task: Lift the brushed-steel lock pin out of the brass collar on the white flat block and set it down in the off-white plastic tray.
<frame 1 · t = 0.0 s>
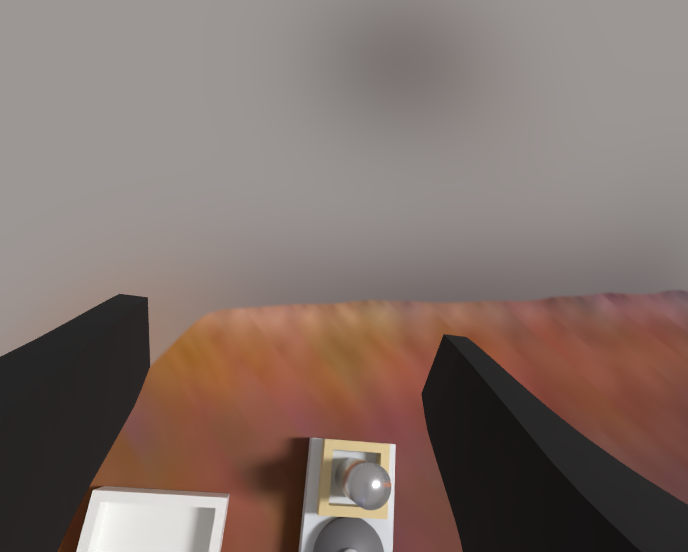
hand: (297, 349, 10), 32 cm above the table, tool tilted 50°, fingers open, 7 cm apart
lock pin: (352, 476, 37), point 2 cm above the table, touching white flat block
white flat block: (345, 516, 38), on the table
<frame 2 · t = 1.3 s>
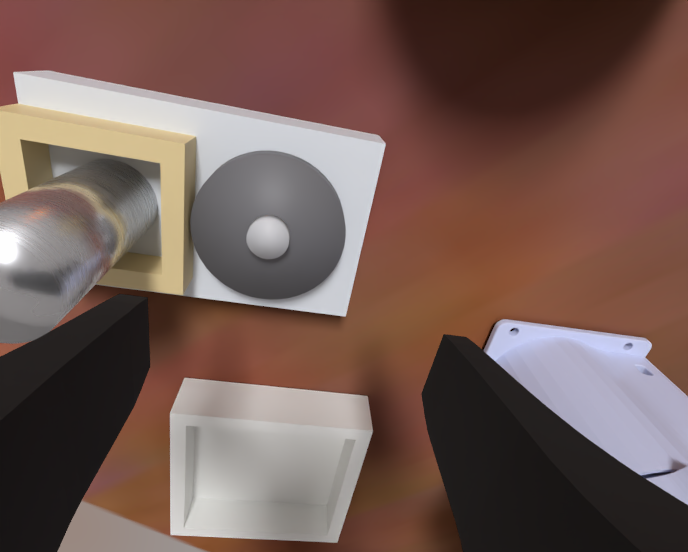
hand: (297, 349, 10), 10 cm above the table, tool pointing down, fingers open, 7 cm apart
tray: (269, 448, 26), on the table
lock pin: (115, 200, 16), point 2 cm above the table, touching white flat block
white flat block: (217, 199, 18), on the table
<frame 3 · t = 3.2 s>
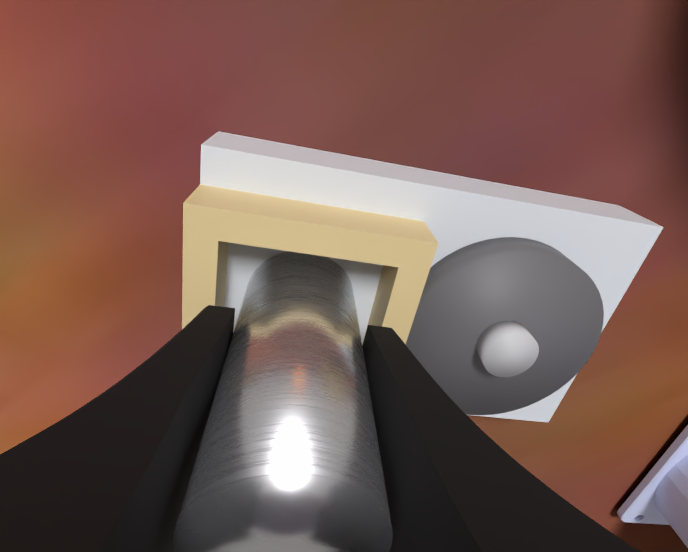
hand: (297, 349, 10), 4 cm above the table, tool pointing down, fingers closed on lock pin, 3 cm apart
lock pin: (300, 298, 12), point 2 cm above the table, touching gripper, white flat block
white flat block: (400, 282, 14), on the table
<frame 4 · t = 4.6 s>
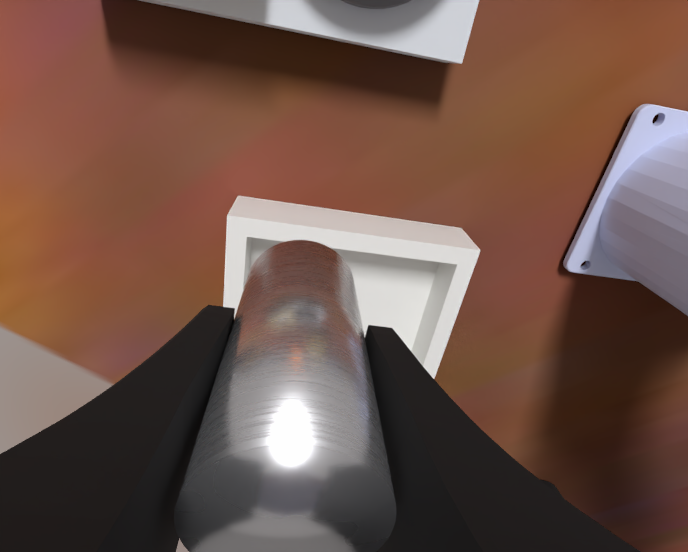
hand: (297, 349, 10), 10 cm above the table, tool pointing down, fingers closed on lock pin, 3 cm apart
tray: (335, 307, 21), on the table
lock pin: (301, 289, 12), point 7 cm above the table, touching gripper
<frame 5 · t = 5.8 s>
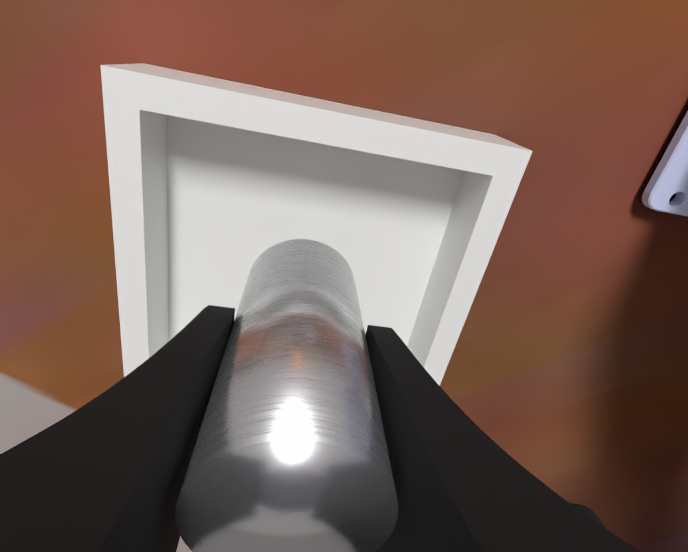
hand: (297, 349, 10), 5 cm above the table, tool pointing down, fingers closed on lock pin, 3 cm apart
tray: (304, 258, 15), on the table
lock pin: (301, 288, 12), point 3 cm above the table, touching gripper
drinking cup: (553, 525, 24), on the table
when the fingers open (4 cm above the table, at t = 6.3 s): lock pin drops 1 cm, resting on tray.
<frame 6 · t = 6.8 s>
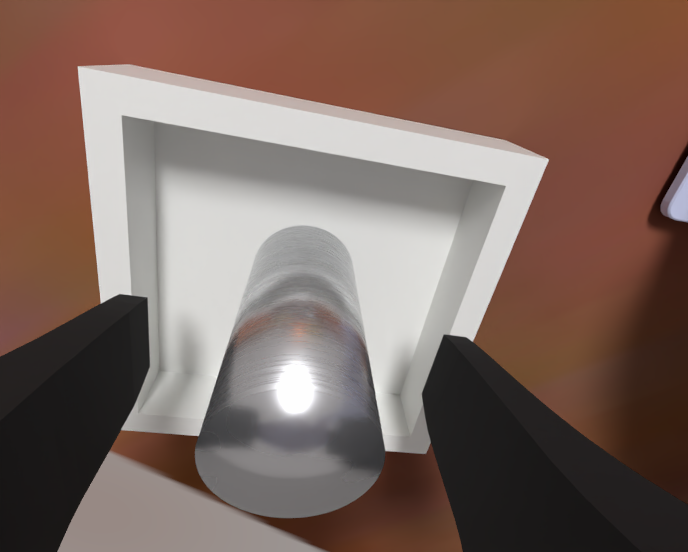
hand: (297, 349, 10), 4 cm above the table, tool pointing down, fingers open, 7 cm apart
tray: (302, 271, 14), on the table
lock pin: (303, 272, 13), point 1 cm above the table, touching tray
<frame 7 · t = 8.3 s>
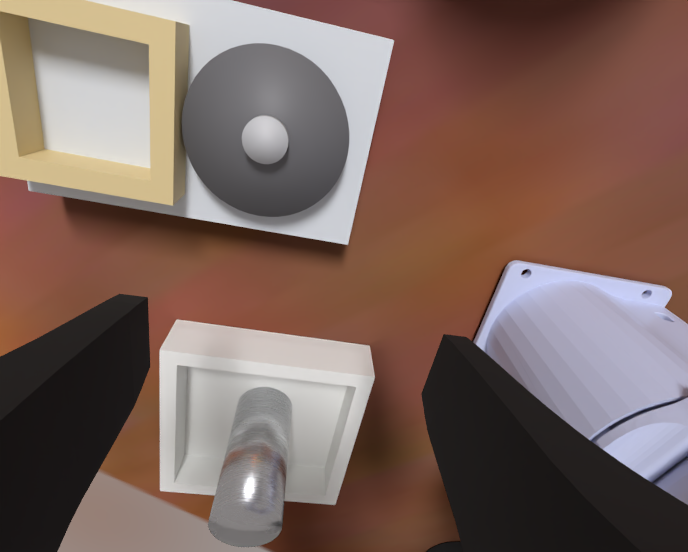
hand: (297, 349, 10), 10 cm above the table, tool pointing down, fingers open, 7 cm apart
tray: (265, 403, 25), on the table
lock pin: (264, 407, 24), point 1 cm above the table, touching tray
white flat block: (213, 113, 17), on the table
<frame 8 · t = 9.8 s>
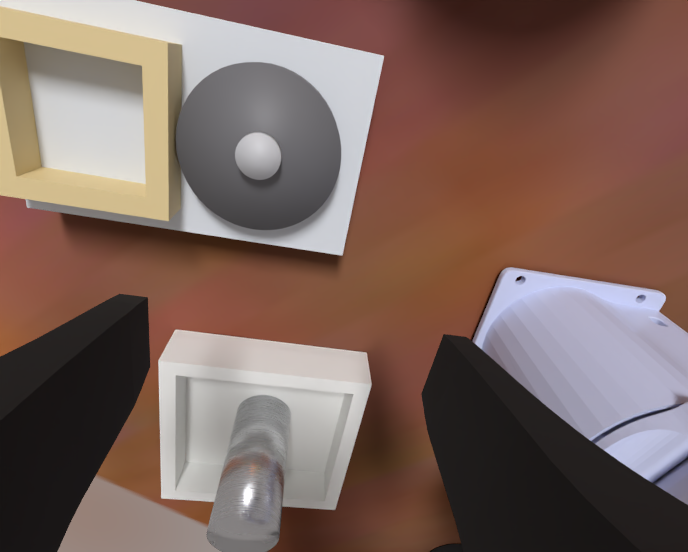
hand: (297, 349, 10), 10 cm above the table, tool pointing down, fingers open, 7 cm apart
tray: (264, 410, 25), on the table
lock pin: (263, 414, 24), point 1 cm above the table, touching tray
white flat block: (207, 128, 17), on the table
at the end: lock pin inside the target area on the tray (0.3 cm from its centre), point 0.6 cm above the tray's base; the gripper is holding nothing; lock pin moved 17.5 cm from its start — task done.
